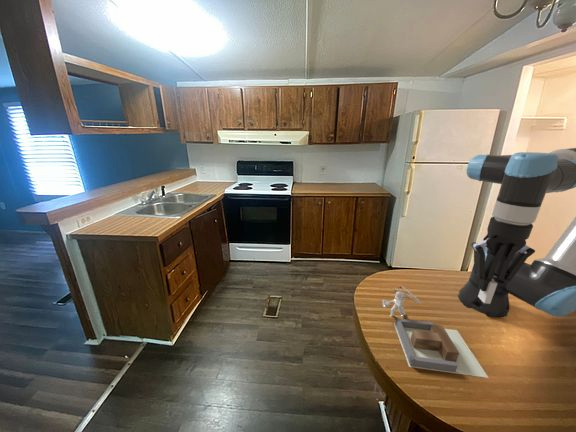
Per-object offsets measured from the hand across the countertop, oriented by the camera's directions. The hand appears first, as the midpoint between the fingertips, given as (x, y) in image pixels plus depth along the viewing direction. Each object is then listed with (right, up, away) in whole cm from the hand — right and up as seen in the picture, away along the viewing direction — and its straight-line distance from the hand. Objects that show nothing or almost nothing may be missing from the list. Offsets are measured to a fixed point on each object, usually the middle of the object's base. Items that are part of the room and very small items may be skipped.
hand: (483, 300), depth 63 cm
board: (-9, -18, +8) cm, 21 cm away
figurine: (-16, -14, +20) cm, 29 cm away
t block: (-10, -17, +8) cm, 21 cm away
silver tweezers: (-3, -11, +29) cm, 31 cm away
